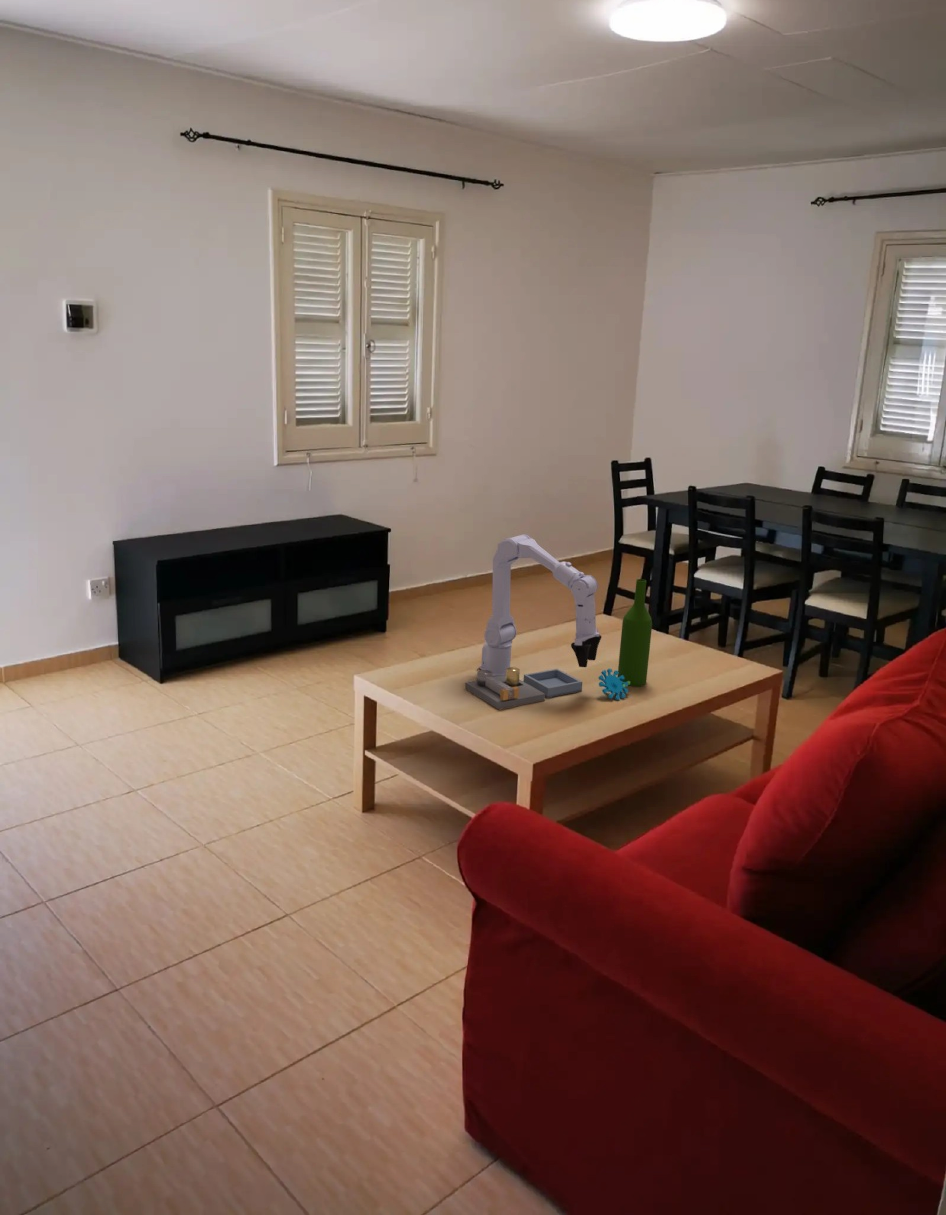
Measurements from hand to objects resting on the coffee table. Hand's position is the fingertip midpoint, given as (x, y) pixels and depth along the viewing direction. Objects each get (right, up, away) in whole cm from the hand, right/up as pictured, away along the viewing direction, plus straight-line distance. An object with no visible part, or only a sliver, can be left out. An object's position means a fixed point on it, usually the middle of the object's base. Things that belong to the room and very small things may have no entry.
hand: (587, 663), depth 276 cm
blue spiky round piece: (+8, -10, +4) cm, 14 cm away
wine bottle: (+16, -7, +17) cm, 24 cm away
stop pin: (-22, -8, +5) cm, 24 cm away
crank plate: (-24, -9, +1) cm, 26 cm away
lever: (-27, -8, -2) cm, 28 cm away
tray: (-10, -8, +8) cm, 15 cm away
